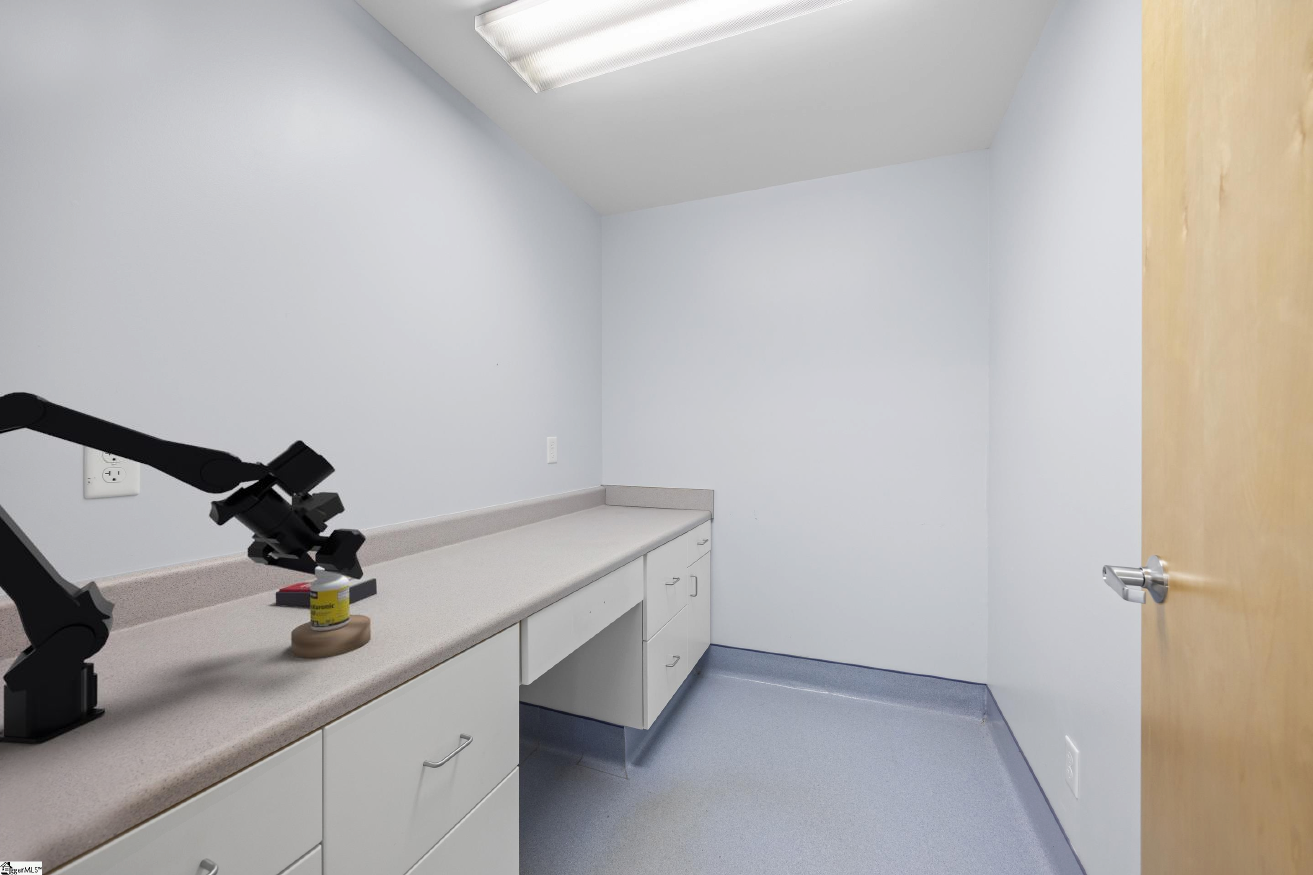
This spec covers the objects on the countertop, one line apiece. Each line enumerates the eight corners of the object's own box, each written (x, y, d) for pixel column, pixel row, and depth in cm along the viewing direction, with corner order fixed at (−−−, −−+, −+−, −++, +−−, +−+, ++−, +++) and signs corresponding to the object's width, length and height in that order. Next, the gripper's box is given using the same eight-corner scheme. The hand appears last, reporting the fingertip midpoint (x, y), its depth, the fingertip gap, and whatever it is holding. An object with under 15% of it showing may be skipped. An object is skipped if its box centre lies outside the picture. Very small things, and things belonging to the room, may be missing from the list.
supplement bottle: (302, 631, 82) (301, 569, 82) (328, 619, 88) (327, 561, 88) (332, 632, 81) (331, 570, 81) (357, 620, 87) (356, 562, 87)
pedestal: (339, 659, 78) (339, 639, 78) (273, 656, 80) (273, 637, 80) (384, 632, 89) (384, 615, 89) (326, 630, 91) (326, 613, 91)
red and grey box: (319, 574, 116) (377, 574, 113) (320, 594, 116) (378, 594, 113) (274, 588, 105) (336, 588, 102) (274, 609, 105) (337, 610, 102)
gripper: (355, 477, 78) (410, 537, 88) (267, 475, 84) (329, 531, 94) (305, 539, 71) (372, 596, 81) (212, 532, 76) (286, 586, 87)
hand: (339, 574), depth 86 cm, fingers open, 9 cm apart
